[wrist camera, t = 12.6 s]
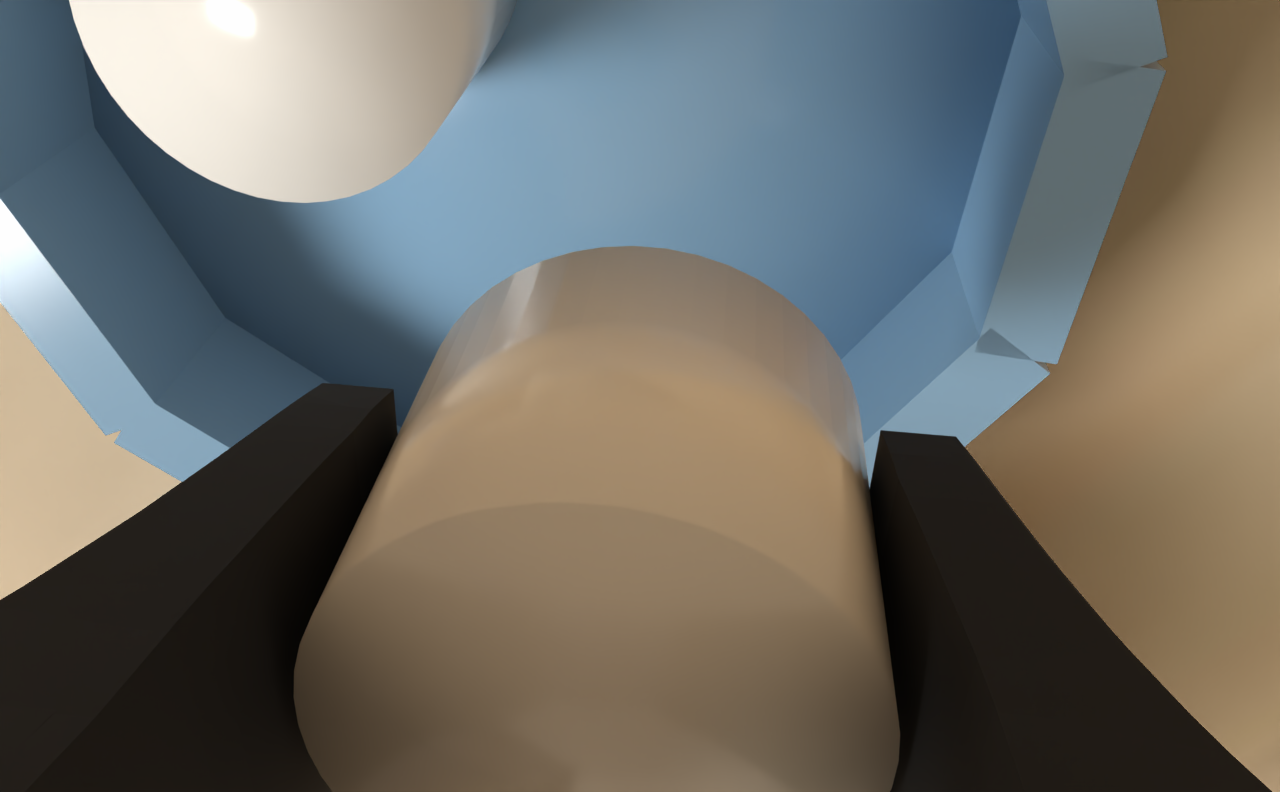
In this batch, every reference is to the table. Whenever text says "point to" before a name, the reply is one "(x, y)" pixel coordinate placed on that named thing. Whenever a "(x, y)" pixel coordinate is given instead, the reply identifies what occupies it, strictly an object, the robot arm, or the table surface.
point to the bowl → (598, 204)
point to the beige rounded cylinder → (613, 553)
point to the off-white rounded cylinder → (290, 83)
